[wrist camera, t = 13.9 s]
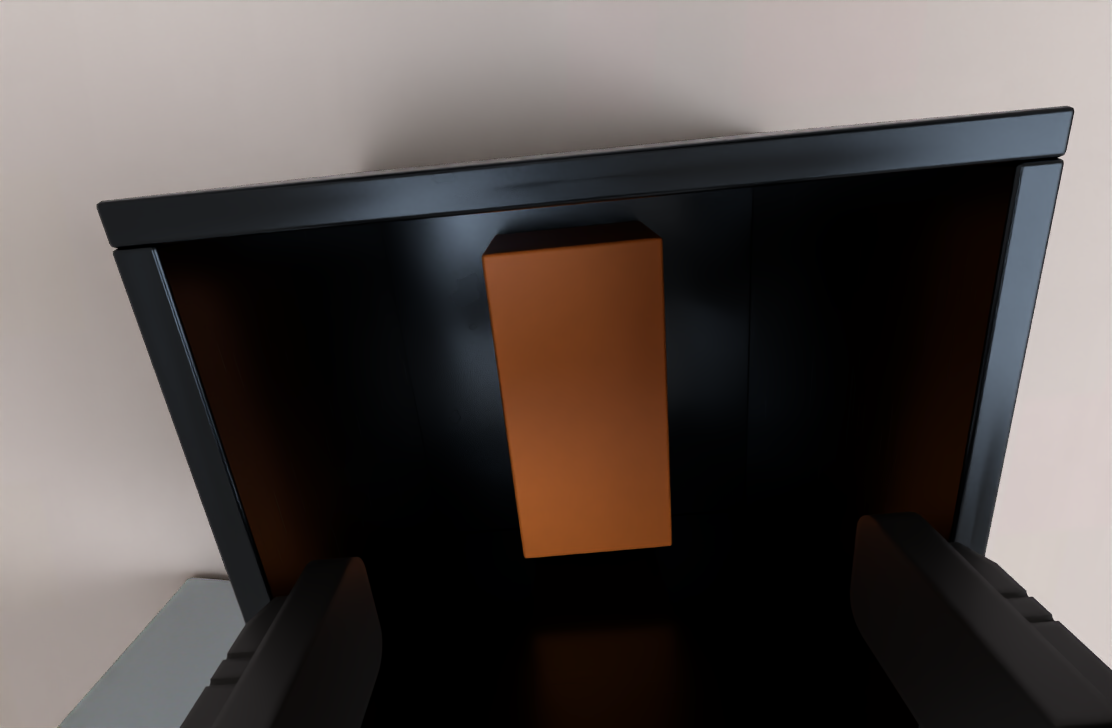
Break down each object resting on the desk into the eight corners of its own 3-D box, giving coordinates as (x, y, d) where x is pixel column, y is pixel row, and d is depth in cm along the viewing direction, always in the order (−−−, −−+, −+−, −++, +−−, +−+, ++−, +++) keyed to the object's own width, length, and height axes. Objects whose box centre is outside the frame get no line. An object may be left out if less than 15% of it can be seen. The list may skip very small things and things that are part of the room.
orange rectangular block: (494, 234, 17) (480, 255, 14) (640, 220, 17) (663, 236, 14) (527, 492, 20) (523, 559, 17) (652, 481, 20) (673, 547, 17)
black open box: (358, 172, 17) (91, 202, 7) (765, 131, 17) (1078, 104, 7) (431, 536, 22) (330, 867, 12) (753, 509, 22) (933, 824, 12)
